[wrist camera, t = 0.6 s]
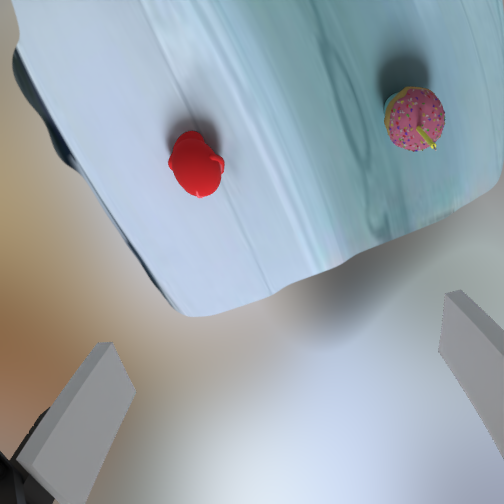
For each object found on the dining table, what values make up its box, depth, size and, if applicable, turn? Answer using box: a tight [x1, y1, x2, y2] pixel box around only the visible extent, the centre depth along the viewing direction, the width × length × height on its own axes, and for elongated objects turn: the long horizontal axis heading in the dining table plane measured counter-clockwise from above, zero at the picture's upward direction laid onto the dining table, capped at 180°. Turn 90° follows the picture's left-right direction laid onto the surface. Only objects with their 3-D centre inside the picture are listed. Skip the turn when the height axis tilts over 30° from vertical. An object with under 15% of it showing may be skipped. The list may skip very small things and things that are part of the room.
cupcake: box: [384, 87, 445, 152], centre depth 32 cm, size 9×8×12 cm
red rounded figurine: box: [168, 131, 224, 198], centre depth 37 cm, size 8×6×6 cm
